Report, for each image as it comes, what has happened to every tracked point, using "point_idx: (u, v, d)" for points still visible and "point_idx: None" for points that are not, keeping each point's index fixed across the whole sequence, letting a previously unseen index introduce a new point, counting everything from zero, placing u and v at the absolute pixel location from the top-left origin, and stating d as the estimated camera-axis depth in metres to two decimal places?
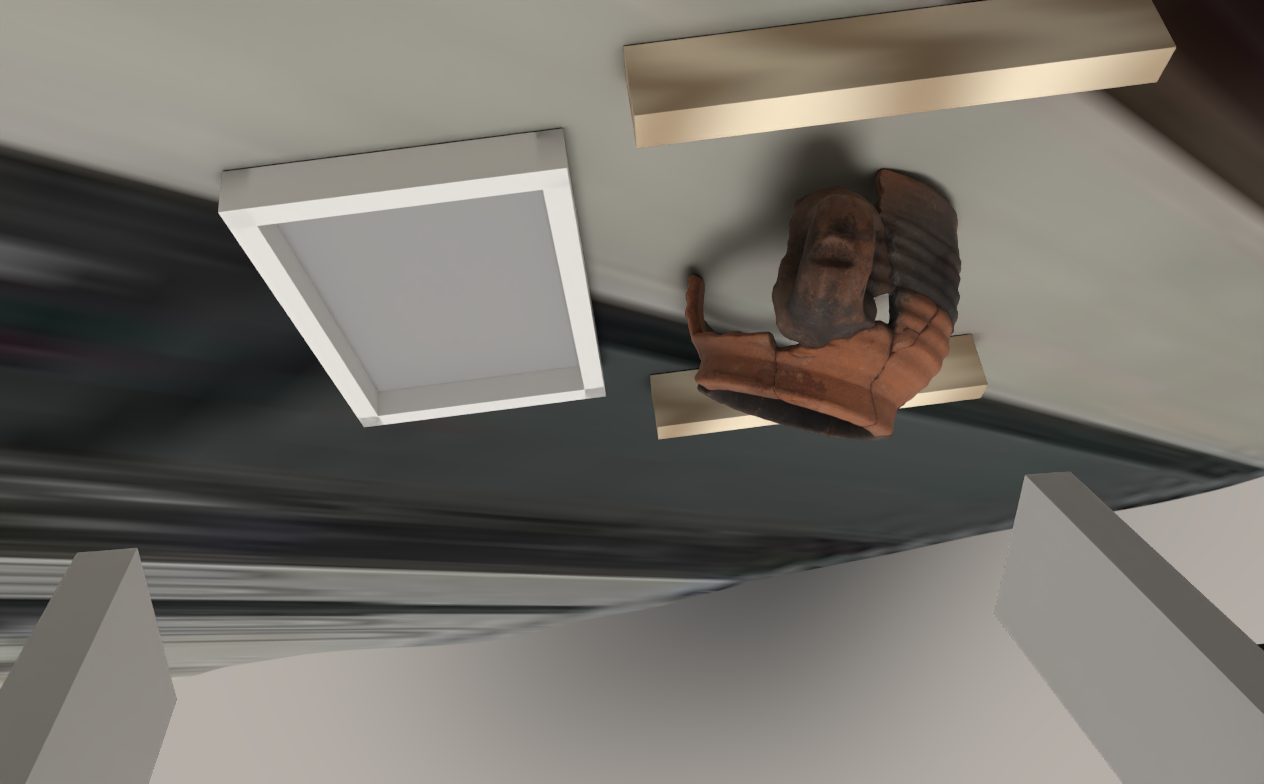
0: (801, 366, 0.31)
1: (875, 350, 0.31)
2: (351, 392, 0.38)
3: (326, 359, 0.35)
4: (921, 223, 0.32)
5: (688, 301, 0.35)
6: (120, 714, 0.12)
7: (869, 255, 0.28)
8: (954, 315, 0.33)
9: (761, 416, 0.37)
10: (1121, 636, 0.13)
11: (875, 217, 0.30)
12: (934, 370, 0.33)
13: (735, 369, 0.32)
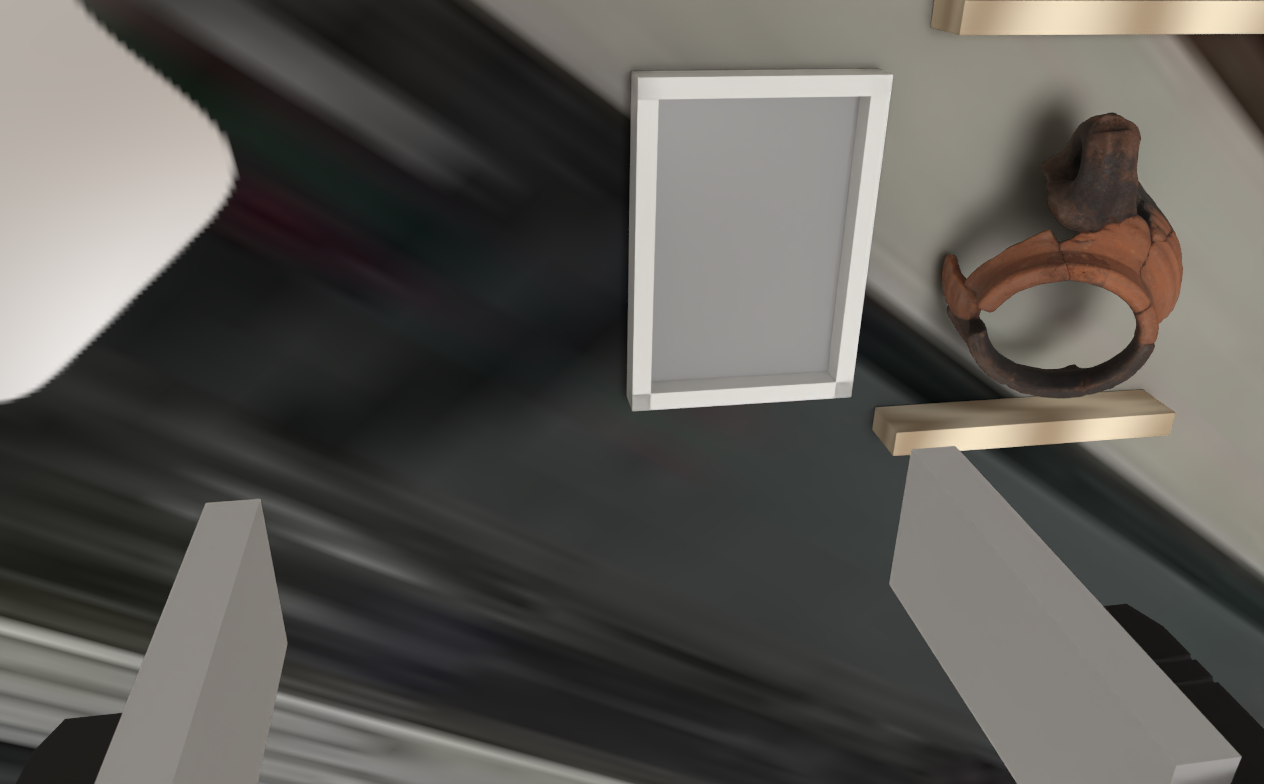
0: (1083, 250, 0.38)
1: (1141, 235, 0.38)
2: (642, 349, 0.41)
3: (640, 293, 0.40)
4: None
5: (951, 266, 0.42)
6: (253, 648, 0.13)
7: (1137, 128, 0.37)
8: None
9: (1018, 380, 0.42)
10: (986, 599, 0.14)
11: None
12: (1177, 286, 0.40)
13: (1024, 266, 0.38)
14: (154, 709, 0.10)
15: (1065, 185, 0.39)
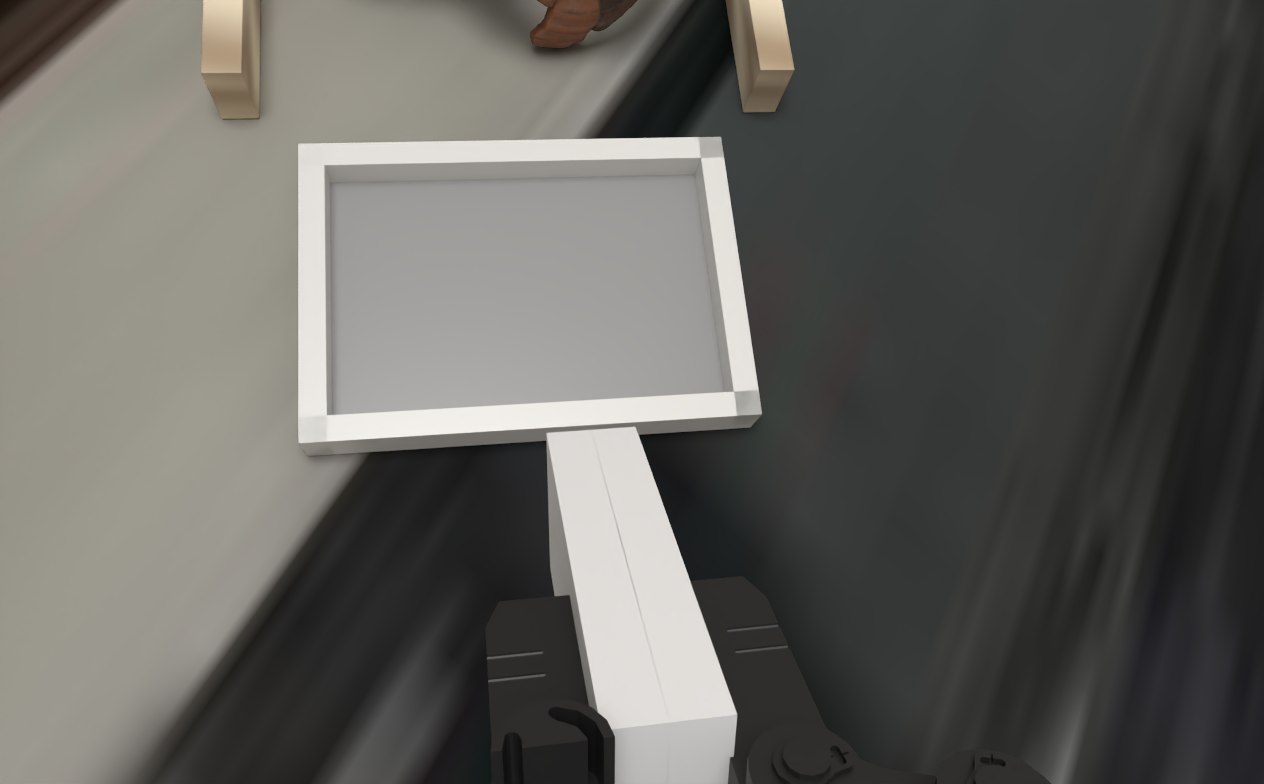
0: None
1: None
2: (669, 407, 0.30)
3: (588, 417, 0.30)
4: None
5: (539, 31, 0.34)
6: None
7: None
8: None
9: None
10: None
11: None
12: None
13: None
14: (600, 586, 0.12)
15: None
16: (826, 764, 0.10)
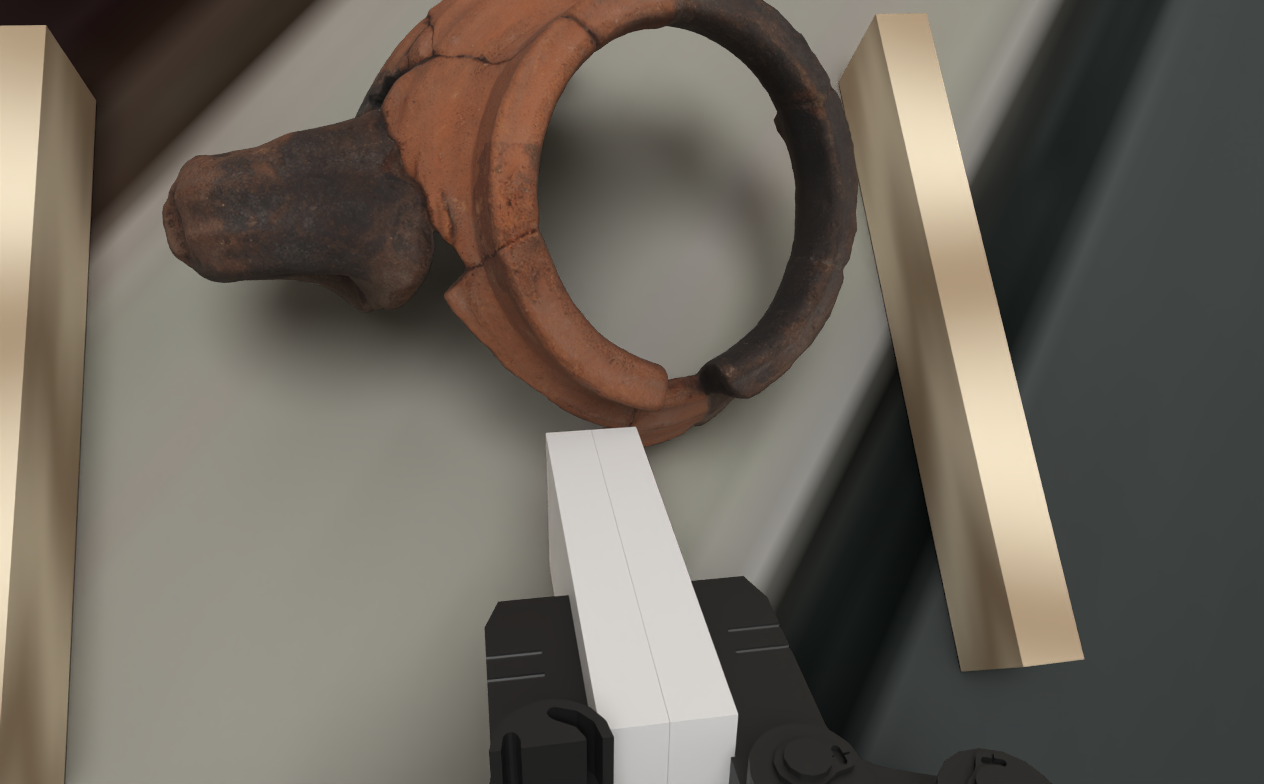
0: (470, 211, 0.15)
1: (419, 86, 0.16)
2: None
3: None
4: None
5: None
6: None
7: (181, 169, 0.16)
8: None
9: (827, 249, 0.18)
10: None
11: None
12: None
13: (534, 337, 0.15)
14: (599, 586, 0.12)
15: (352, 279, 0.17)
16: (827, 764, 0.10)
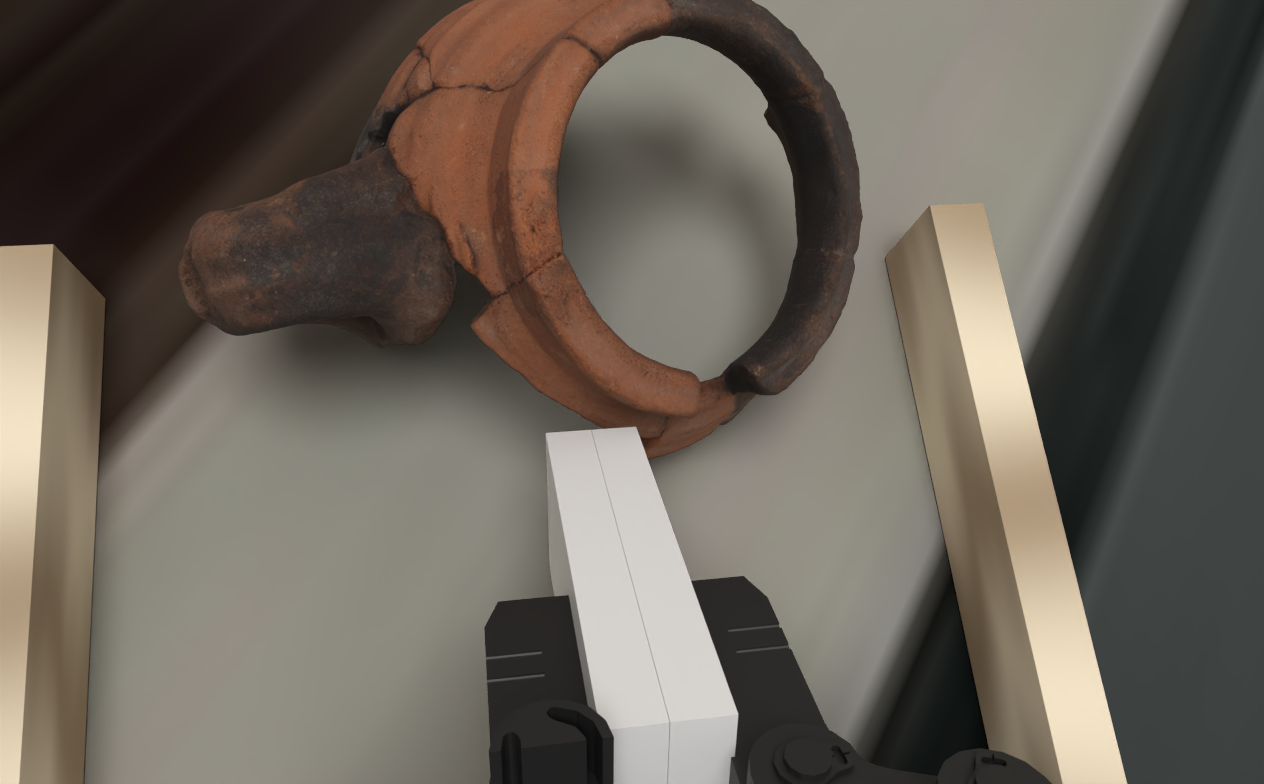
0: (491, 240, 0.15)
1: (424, 120, 0.16)
2: None
3: None
4: None
5: None
6: None
7: None
8: None
9: (837, 239, 0.18)
10: None
11: None
12: None
13: (567, 358, 0.16)
14: (599, 586, 0.12)
15: (374, 318, 0.17)
16: (827, 764, 0.10)
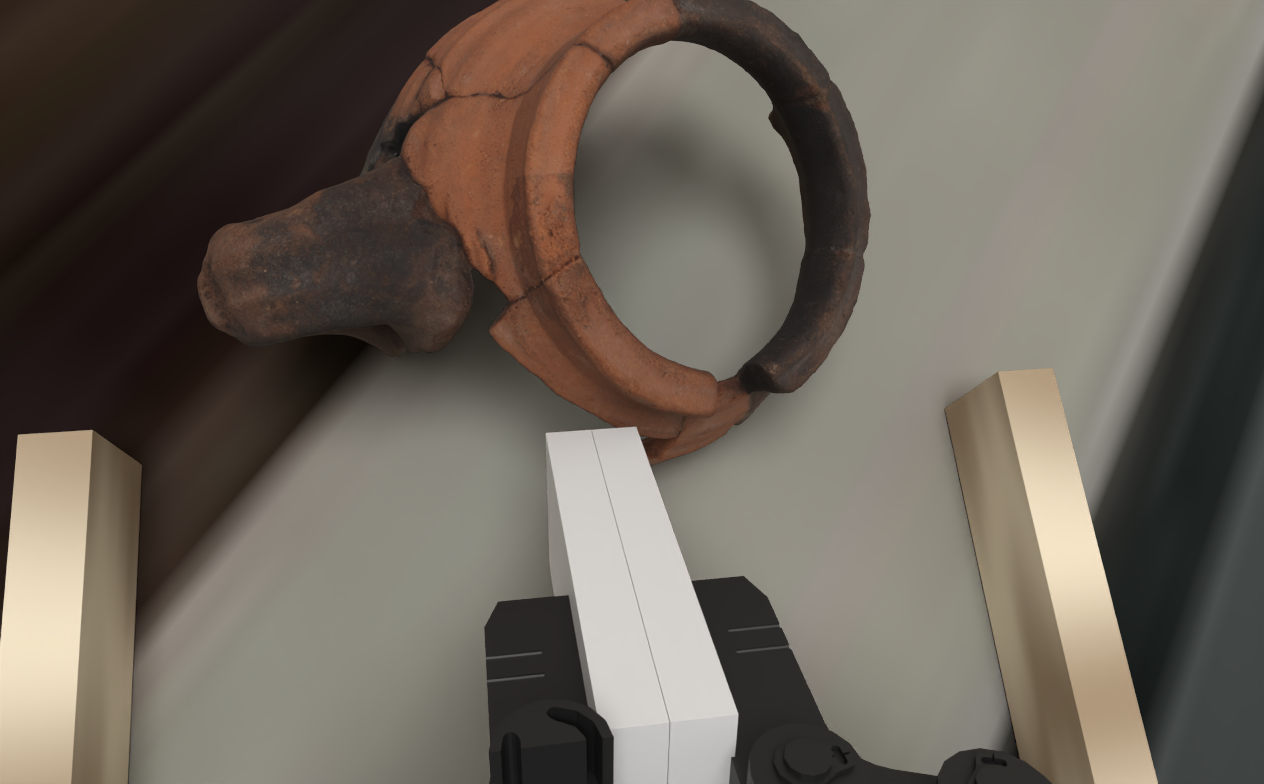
0: (508, 245, 0.15)
1: (438, 128, 0.16)
2: None
3: None
4: None
5: None
6: None
7: None
8: None
9: (846, 237, 0.18)
10: None
11: None
12: None
13: (586, 361, 0.16)
14: (599, 587, 0.12)
15: (391, 327, 0.17)
16: (827, 764, 0.10)
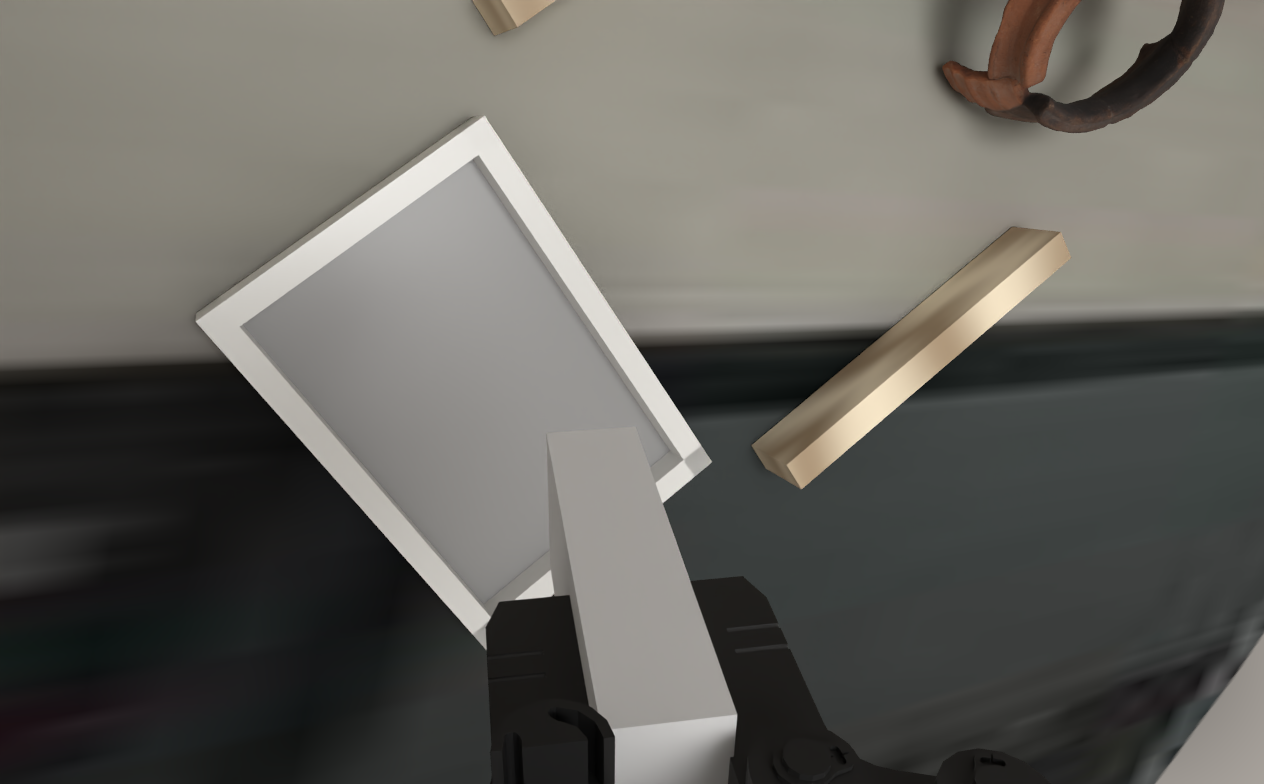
0: None
1: None
2: (444, 583, 0.32)
3: (392, 531, 0.30)
4: None
5: (959, 73, 0.35)
6: None
7: None
8: None
9: (1117, 110, 0.34)
10: None
11: None
12: None
13: (1038, 12, 0.31)
14: (600, 586, 0.12)
15: None
16: (826, 764, 0.10)
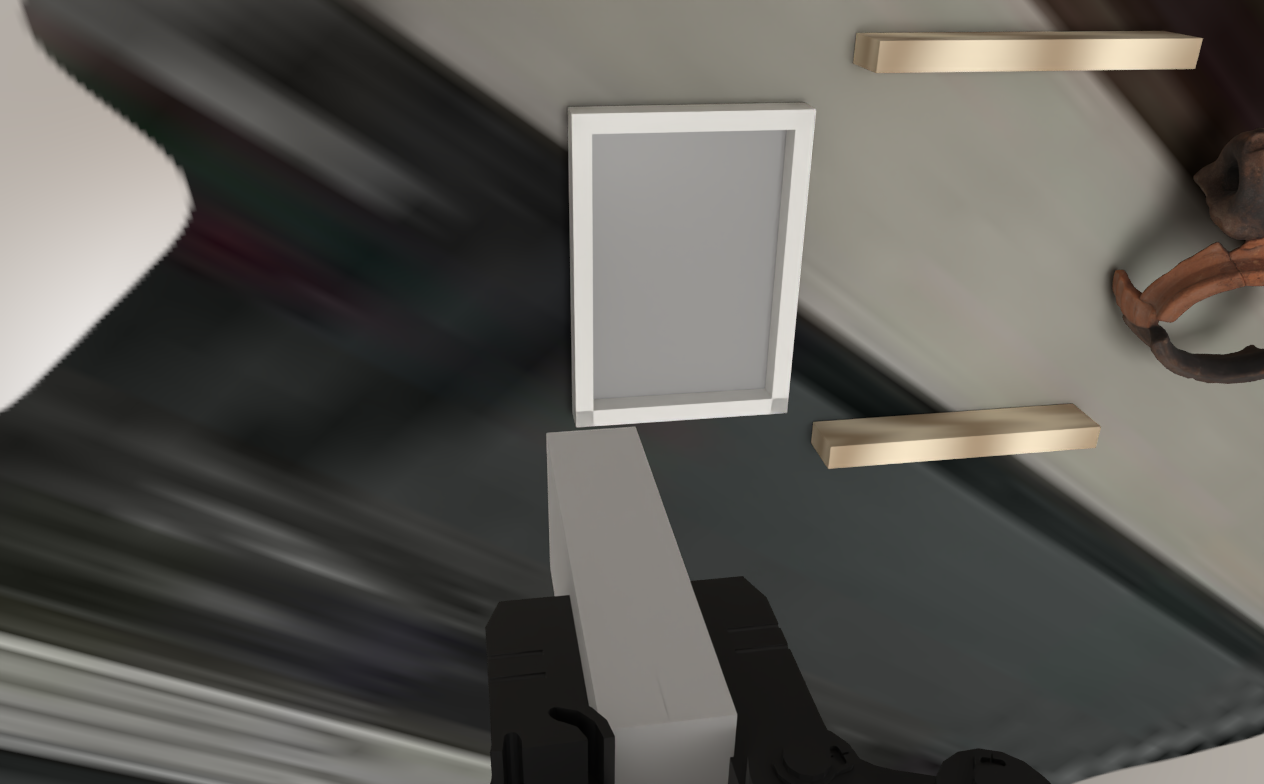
0: (1253, 257, 0.42)
1: None
2: (584, 368, 0.43)
3: (580, 315, 0.42)
4: None
5: (1123, 281, 0.46)
6: None
7: None
8: None
9: (1204, 373, 0.46)
10: None
11: None
12: None
13: (1198, 279, 0.42)
14: (600, 586, 0.12)
15: (1225, 199, 0.42)
16: (826, 764, 0.10)
